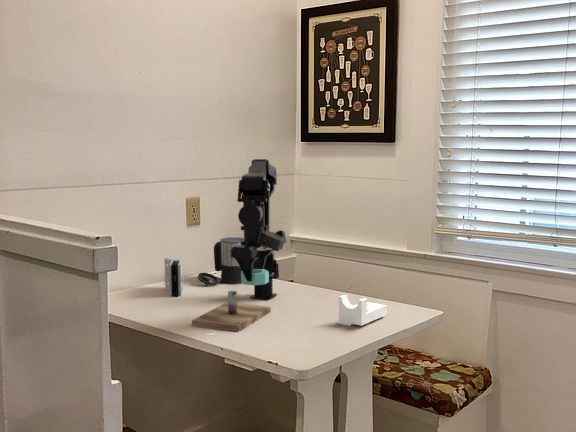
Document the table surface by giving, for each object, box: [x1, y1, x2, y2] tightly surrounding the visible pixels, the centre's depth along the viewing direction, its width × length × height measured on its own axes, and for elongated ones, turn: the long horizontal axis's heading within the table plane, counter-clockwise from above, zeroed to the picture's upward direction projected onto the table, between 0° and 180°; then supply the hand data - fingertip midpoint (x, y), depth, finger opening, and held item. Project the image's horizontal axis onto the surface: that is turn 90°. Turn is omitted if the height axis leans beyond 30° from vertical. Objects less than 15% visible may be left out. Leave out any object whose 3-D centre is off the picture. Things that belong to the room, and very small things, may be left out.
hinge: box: [164, 257, 184, 298], centre depth 210 cm, size 14×5×10 cm, turn 18°
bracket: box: [338, 294, 387, 327], centre depth 177 cm, size 13×7×8 cm, turn 142°
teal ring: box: [240, 269, 269, 286], centre depth 178 cm, size 7×7×3 cm
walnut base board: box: [191, 301, 272, 332], centre depth 179 cm, size 20×14×2 cm
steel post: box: [227, 290, 238, 315], centre depth 178 cm, size 2×2×6 cm
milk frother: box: [197, 236, 244, 286], centre depth 222 cm, size 14×16×15 cm
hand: (254, 278), depth 178 cm, fingers closed on teal ring, 7 cm apart
